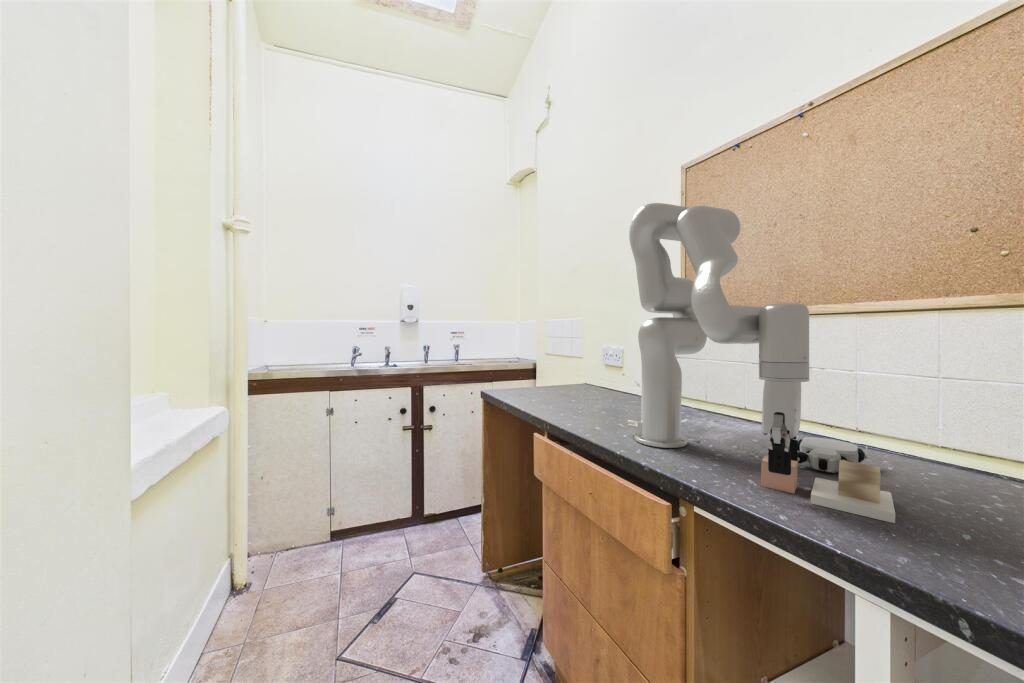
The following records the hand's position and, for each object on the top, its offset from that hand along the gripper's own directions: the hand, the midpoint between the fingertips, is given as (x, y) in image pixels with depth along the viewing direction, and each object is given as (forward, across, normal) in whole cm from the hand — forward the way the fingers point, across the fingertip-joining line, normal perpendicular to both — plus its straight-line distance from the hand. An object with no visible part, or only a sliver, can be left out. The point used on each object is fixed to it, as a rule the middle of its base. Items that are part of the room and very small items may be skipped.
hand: (783, 466), depth 71 cm
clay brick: (+4, 0, -1) cm, 4 cm away
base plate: (+4, 0, +9) cm, 10 cm away
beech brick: (+3, 0, +10) cm, 10 cm away
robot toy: (+4, -20, +5) cm, 22 cm away
